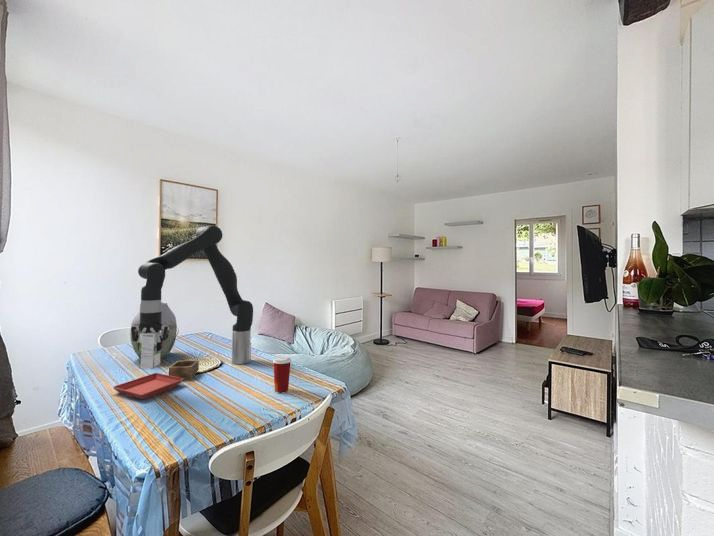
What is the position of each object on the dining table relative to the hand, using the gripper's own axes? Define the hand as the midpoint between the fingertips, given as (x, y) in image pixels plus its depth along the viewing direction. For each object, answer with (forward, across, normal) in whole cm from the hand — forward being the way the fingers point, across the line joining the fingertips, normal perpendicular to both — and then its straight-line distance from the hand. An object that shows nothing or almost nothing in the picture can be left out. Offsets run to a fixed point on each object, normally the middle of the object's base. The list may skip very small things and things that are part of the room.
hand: (150, 350), depth 127 cm
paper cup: (+16, -54, +7) cm, 57 cm away
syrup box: (+7, 0, 0) cm, 7 cm away
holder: (+16, -8, -15) cm, 23 cm away
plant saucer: (+17, 0, 0) cm, 17 cm away
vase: (+16, +18, -45) cm, 51 cm away
